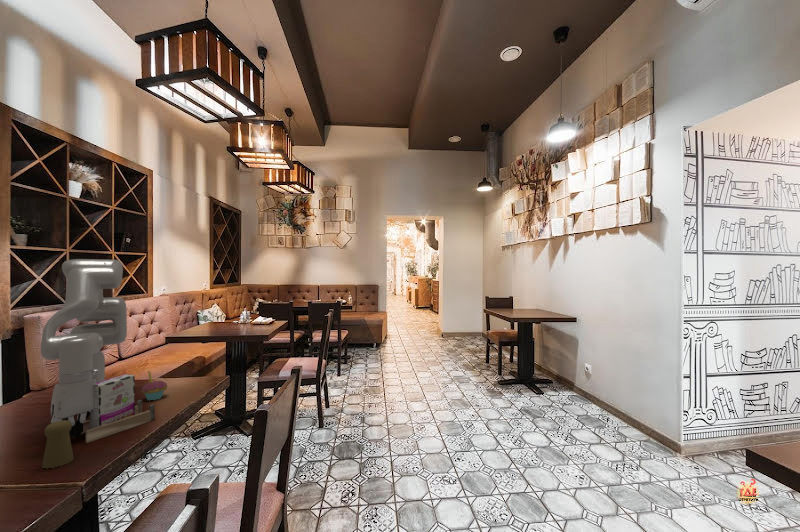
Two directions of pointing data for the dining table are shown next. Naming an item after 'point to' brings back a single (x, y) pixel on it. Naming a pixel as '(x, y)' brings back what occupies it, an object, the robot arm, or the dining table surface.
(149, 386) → the cupcake
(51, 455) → the cork
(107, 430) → the chute
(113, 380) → the candy bar box
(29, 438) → the dining table surface
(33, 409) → the dining table surface
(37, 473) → the dining table surface
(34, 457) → the dining table surface
